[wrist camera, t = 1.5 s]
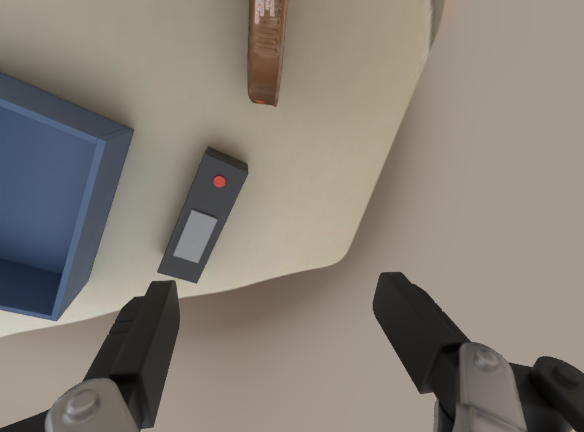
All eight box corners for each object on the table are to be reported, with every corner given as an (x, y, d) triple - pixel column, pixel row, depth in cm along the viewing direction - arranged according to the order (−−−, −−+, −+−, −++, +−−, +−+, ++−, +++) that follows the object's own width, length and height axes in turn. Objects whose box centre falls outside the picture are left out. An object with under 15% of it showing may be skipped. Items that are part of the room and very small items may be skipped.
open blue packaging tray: (-49, 247, 30) (-119, 286, 24) (-30, 58, 24) (-119, 49, 18) (88, 281, 34) (56, 321, 28) (134, 129, 28) (106, 141, 22)
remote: (164, 256, 34) (156, 274, 31) (208, 146, 30) (204, 154, 26) (200, 267, 36) (196, 285, 33) (247, 164, 31) (248, 173, 28)
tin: (274, 104, 29) (285, 110, 22) (244, 101, 28) (245, 106, 21) (289, -90, 23) (313, -175, 15) (251, -99, 22) (257, -193, 15)
